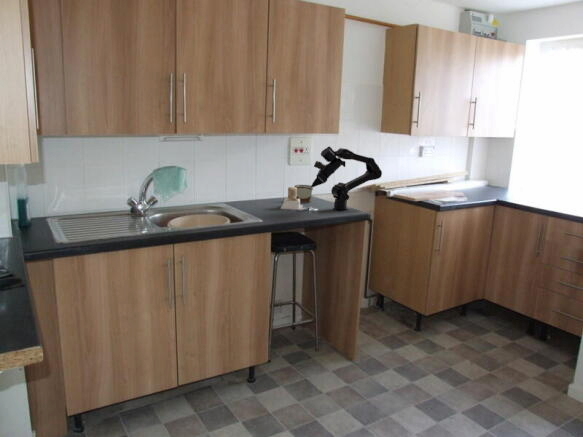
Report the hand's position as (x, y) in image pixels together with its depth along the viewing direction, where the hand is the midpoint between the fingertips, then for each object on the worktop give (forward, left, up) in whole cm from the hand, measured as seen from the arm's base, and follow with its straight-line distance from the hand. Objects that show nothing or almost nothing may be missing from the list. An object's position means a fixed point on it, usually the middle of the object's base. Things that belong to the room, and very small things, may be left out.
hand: (312, 185), depth 273 cm
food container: (-10, -21, -14) cm, 27 cm away
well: (+7, -9, -14) cm, 18 cm away
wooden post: (+7, -9, -13) cm, 17 cm away
